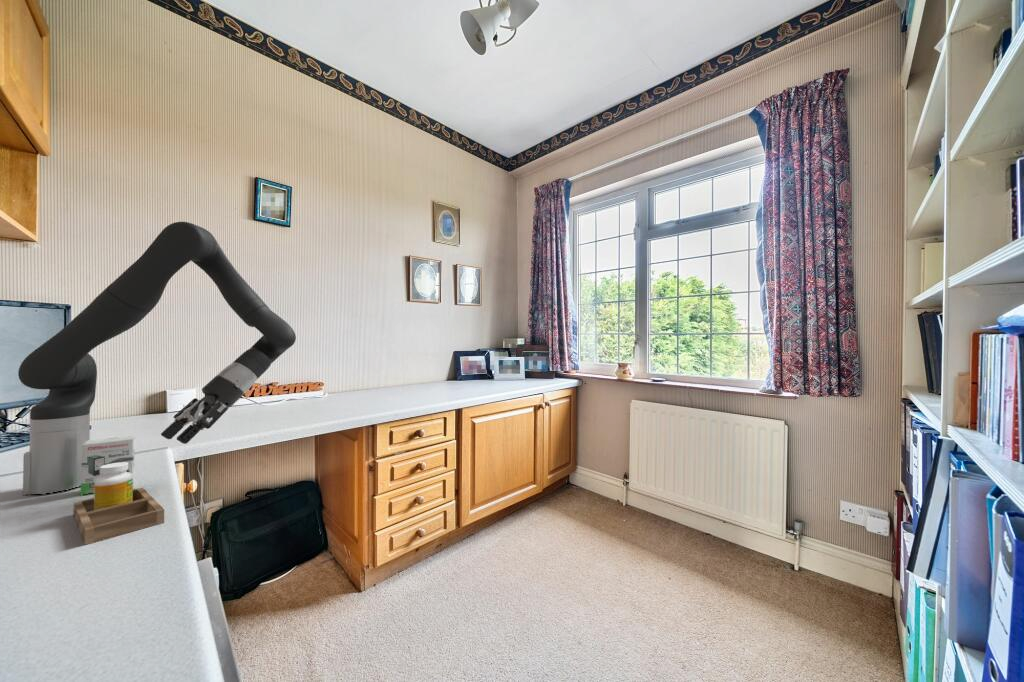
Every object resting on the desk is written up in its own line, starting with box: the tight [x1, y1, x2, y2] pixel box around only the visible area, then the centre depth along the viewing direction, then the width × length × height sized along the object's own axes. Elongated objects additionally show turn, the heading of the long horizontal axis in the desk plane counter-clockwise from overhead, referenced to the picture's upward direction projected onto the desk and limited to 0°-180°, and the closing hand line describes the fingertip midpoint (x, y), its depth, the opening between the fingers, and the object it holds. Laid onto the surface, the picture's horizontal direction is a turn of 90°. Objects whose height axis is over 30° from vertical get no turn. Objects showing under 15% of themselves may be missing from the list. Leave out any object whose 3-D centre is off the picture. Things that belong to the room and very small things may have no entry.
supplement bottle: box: [93, 462, 134, 510], centre depth 76 cm, size 5×5×10 cm
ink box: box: [79, 435, 136, 496], centre depth 89 cm, size 9×5×12 cm, turn 133°
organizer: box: [73, 486, 165, 546], centre depth 73 cm, size 20×10×2 cm, turn 53°
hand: (172, 439), depth 84 cm, fingers open, 8 cm apart
